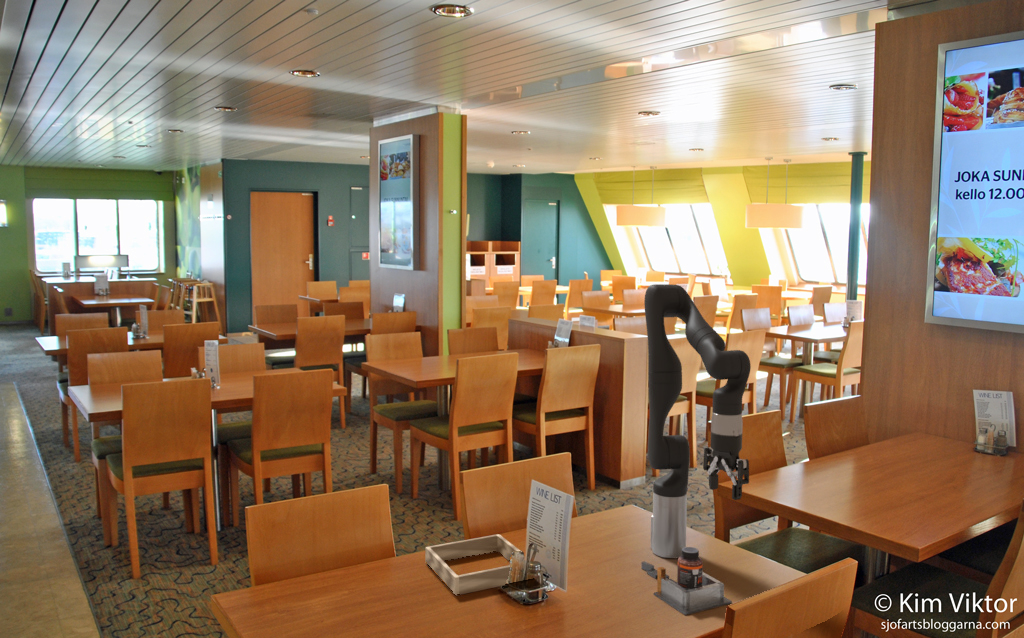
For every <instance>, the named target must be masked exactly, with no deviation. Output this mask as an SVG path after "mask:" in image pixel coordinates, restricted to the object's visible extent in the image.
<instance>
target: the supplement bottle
mask: <svg viewBox="0 0 1024 638" xmlns="http://www.w3.org/2000/svg"><path fill="white" fill-rule="evenodd" d="M699 552H700V551H699V549H698V548H696V547H692V546H686V547H684V548H683V549H682V556H680V557H679V558H678V559H677V571H676V572H677V574H676V575H677V577H676V578H677V579H676V580H677V581H676V582H677V584H678V585H679V586H681V587H683V588H684V589H686V590H690V589H694V588H698V587H702V573H703V572H704V571H703V570H704V569H703V559H702V558H701V557H699V555H700V553H699Z"/></svg>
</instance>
